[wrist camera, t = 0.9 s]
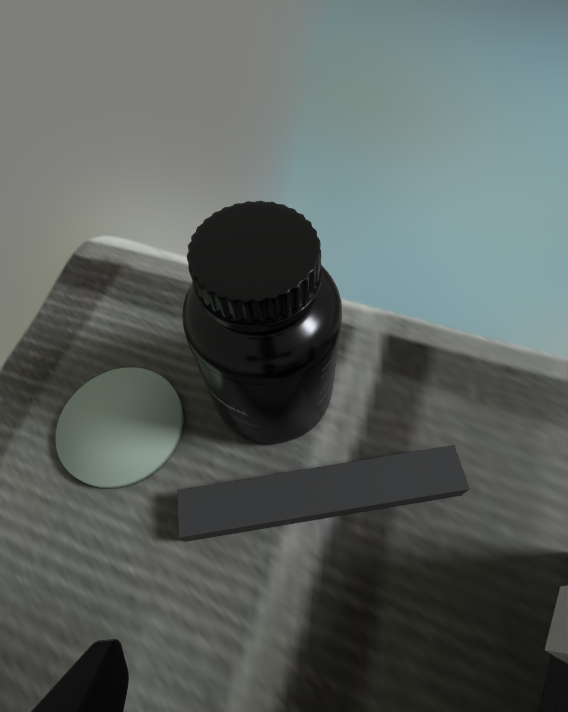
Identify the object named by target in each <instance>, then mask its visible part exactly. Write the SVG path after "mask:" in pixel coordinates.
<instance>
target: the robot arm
mask: <svg viewBox="0 0 568 712" xmlns="http://www.w3.org/2000/svg"><path fill="white" fill-rule="evenodd" d="M128 682H129V674H128V668H127V665H126V661H125V657H124V653H123V649H122V646H121V643H120V641H119V640H117V639H110V640H100V641H97V642H95V643H94V644H92V645H91V646H90V647H89V649H88V650H87V651H86V652H85V653H84V654H83V655H82V656H81V657H80V659H79V660H78V661H77V662H76V663H75V664H74V665H73V666H72V667H71V668H70V670H69V671H68V672H67V673H66V674H65V675H64V676H63V677H62V678H61V679H60V681H59V682H58V683H57V684H56V685H55V686H54V687H53V688H52V689H51V690H50V692H49V693H48V694H47V695H46V696H45V697H44V698H43V699H42V700H41V701H40V703H39V704H38V705H37V706H36V707H35V708H34V709H33V710H32V711H31V712H123V710H124V705H125V700H126V694H127V689H128Z"/></svg>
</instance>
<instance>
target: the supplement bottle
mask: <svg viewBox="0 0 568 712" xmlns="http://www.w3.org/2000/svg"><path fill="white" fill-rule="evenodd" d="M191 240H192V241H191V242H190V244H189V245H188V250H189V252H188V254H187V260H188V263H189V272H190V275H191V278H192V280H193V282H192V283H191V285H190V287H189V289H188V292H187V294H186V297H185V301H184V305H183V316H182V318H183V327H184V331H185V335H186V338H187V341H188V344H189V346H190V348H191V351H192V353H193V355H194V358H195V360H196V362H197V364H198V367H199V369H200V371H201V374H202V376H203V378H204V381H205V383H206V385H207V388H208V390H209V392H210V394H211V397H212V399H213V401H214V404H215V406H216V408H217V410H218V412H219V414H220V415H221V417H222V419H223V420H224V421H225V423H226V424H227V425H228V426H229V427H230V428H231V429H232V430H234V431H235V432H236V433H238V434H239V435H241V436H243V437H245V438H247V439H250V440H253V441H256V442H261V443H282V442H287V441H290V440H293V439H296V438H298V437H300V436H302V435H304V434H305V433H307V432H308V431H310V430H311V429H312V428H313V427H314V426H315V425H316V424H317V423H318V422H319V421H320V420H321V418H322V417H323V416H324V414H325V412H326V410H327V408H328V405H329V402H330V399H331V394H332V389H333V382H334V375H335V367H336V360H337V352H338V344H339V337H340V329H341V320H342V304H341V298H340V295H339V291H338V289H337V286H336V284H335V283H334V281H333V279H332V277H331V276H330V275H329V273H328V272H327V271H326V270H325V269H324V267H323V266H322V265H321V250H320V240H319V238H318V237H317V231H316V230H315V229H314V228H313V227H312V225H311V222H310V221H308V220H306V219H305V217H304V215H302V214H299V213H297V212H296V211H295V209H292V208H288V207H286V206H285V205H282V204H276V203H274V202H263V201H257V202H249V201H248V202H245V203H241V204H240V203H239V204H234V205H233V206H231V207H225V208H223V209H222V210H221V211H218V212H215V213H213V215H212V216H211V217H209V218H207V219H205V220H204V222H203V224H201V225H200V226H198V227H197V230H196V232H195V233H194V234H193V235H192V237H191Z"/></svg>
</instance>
